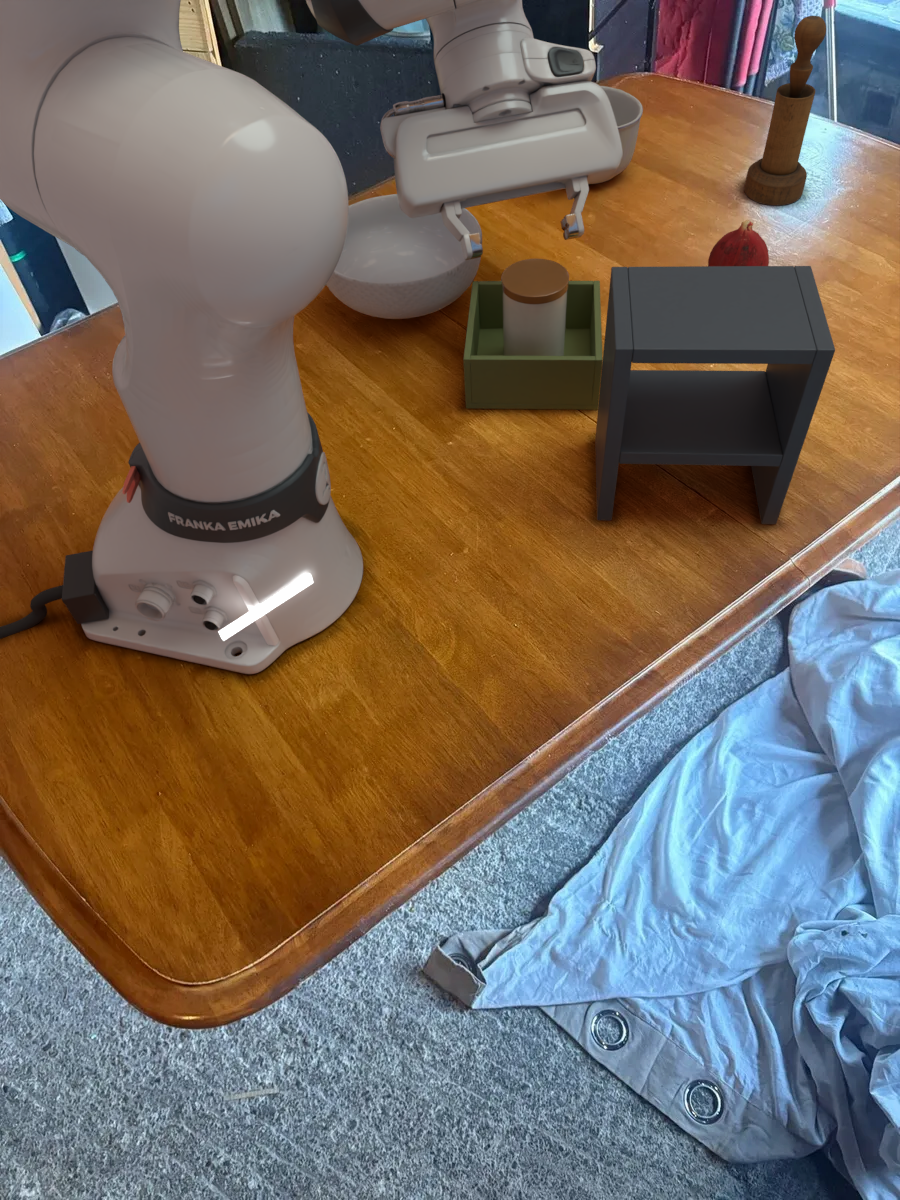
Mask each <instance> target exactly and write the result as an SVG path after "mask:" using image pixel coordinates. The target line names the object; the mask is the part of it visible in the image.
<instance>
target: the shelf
mask: <svg viewBox="0 0 900 1200" xmlns="http://www.w3.org/2000/svg"><path fill="white" fill-rule="evenodd" d="M827 320H828V319H827V316H826V314H825V310H824V307H823V303H822V299H821V295H820V292H819V290H818V286H817V283H816V279H815V275H814V272H813V269H812V266H811V265H768V266H708V265H705V266H703V265H701V266H699V265H697V266H695V265H694V266H692V265H691V266H611V269H610V278H609V288H608V299H607V311H606V321H605V333H604V342H603V351H602V370H601V381H600V391H599V402H598V410H597V414H596V415H597V416H596V426H595V438H594V441H595V442H594V445H595V449H594V450H595V479H596V480H595V486H596V487H595V489H596V492H595V493H596V520H597V521H606V522H607V521H612V519H613V513H614V505H615V497H616V489H617V481H618V474H619V473H618V472H619V467H620V465H673V466H679V465H680V466H683V465H684V466H729V467H730V466H735V467H737V466H739V467H751V474H752V479H753V484H754V490H755V496H756V502H757V507H758V513H759V518H760V524H762V525H777V522H778V519H779V517H780V513H781V511H782V508H783V505H784V502H785V499H786V496H787V495H788V494H787V493H788V491H789V487H790V485H791V482H792V479H793V476H794V473H795V469H796V468H797V464H798V461H799V459H800V455H801V452H802V449H803V446H804V444H805V440H806V437H807V435H808V431H809V428H810V425H811V423H812V420H813V417H814V414H815V411H816V408H817V405H818V402H819V399H820V397H821V395H822V394H821V393H822V391H823V388H824V384H825V382H826V379H827V377H828V376H827V375H828V372H829V370H830V367H831V364H832V361H833V357H834V356H835V353H836V348H835V344H834V340H833V337H832V334H831V331H830V326H829V323H828V321H827ZM632 364H701V365H702V364H712V365H713V364H714V365H715V364H721V365H723V364H724V365H725V364H727V365H729V364H730V365H731V364H732V365H756V364H757V365H766V369H765V370H687V369H686V370H685V369H684V370H682V369H681V370H679V369H678V370H677V369H676V370H673V369H671V370H669V369H668V370H667V369H666V370H665V369H632Z"/></svg>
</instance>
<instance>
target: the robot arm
mask: <svg viewBox="0 0 900 1200" xmlns="http://www.w3.org/2000/svg"><path fill="white" fill-rule="evenodd" d="M181 1H182V0H0V201H1V202H2V203H3V204H4V205H5V206H6V207H8V208H9V209H10V210H11V211H12V212H14V213H15V214H17V215H18V216H19V217H21V218H22V219H25V220H26V221H28V222H30V223H31V224H33V225H35V226H36V227H38V228H40V229H41V230H43V231H44V232H46V233H48V234H50V235H51V236H53V237H55V238H56V239H58V240H60V241H62V242H63V243H65V244H67V245H69V246H70V247H72V248H73V249H75V251H77V252H78V253H79V254H81V255H82V256H83V257H85V258H86V259H87V260H88V262H89V263H90V264H91V265H92V266H93V267H94V268H95V270H96V271H97V272H98V274H100V275H101V277H102V279H103V280H104V281H105V282H106V284H107V285H108V286H109V288H110V290H111V291H112V293H113V295H114V297H115V299H116V300H117V304H118V306H119V309H120V313H121V318H122V322H123V329H124V336H123V337H122V338H121V340H120V341H119V343H118V345H117V347H116V349H115V352H114V355H113V359H112V365H111V366H112V367H111V368H112V371H111V373H112V381H113V385H114V387H115V390H116V391H117V394H118V396H119V398H120V401H121V403H122V405H123V407H124V410H125V412H126V414H127V417H128V419H129V421H130V424H131V426H132V428H133V430H134V432H135V434H136V437H137V440H138V443H137V444H136V445H135V446H134V448H133V450H132V452H131V454H130V457H129V459H128V465H129V470H128V473H127V475H126V477H125V480H124V482H123V486H122V487H121V488H120V489H119V491H118V492H117V493H116V494H115V496H114V497H113V498H112V500H111V501H110V504H109V505H108V507H107V509H106V511H105V513H104V514H103V516H102V519H101V521H100V524H99V526H98V529H97V532H96V535H95V538H94V543H93V547H92V550H88V551H82V552H76V553H72V554H66V555H65V558H64V570H63V581H62V584H61V585H58V586H54V587H51V588H47V589H45V590H43V591H40V592H39V593H38V594H36V595H35V596H33V597H32V599H31V600H30V605H29V607H30V609H31V612H30V613H28V614H27V615H25V616H24V617H22V618H20V619H18V620H15V621H14V622H11V623H8V624H5V625H1V626H0V640H2V639H3V638H6V637H9V636H12V635H15V634H18V633H20V632H23V631H27V630H29V629H31V628H33V627H35V626H37V625H38V624H39V623H41V622H42V621H43V620H44V619H45V618H46V617H47V616H48V615H47V614H48V607H47V606H46V605H48V604H49V603H52V602H54V601H55V602H56V601H59V600H61V601H62V602H63V604H64V605H65V608H67V610H68V612H69V614H70V615H71V617H72V618H73V620H74V621H75V623H76V624H77V625H81V628H82V630H83V632H84V634H85V637H86V638H87V639H89V640H92V641H95V642H99V643H103V644H107V645H112V646H117V647H121V648H125V649H129V650H136V651H140V652H143V653H148V654H153V655H157V656H162V657H166V658H167V657H168V658H171V659H176V660H181V661H185V662H189V663H195V664H198V665H203V666H209V667H212V668H217V669H221V670H225V671H230V672H235V673H239V674H245V675H254V674H258V673H261V672H262V671H264V670H265V669H266V668H268V667H269V666H271V664H272V663H274V662H275V661H277V659H278V658H279V657H280V656H281V655H282V654H283V653H284V652H285V651H287V650H288V649H289V648H291V647H293V646H294V645H296V644H299V643H301V642H303V641H305V640H307V639H310V638H311V637H314V636H315V635H317V634H319V633H321V632H323V631H324V630H325V629H327V628H328V627H329V626H331V625H332V624H333V623H335V622H336V621H337V620H338V619H339V618H340V617H342V615H343V614H344V613H345V612H346V611H347V609H348V608H349V607H350V606H351V604H352V603H353V602H354V600H355V598H356V596H357V594H358V592H359V589H360V587H361V583H362V580H363V576H364V560H363V555H362V551H361V548H360V546H359V545H358V542H357V541H356V539H355V537H354V536H353V535H352V533H351V532H350V531H349V529H348V528H347V526H346V525H345V523H344V522H343V521H344V520H342V518H341V516H340V514H339V512H338V509H337V507H336V505H335V502H334V500H333V497H332V495H331V493H332V485H331V474H330V469H329V464H328V460H327V454H326V452H325V451H324V449H323V445H322V442H321V438H320V435H319V431H318V428H317V425H316V422H315V421H314V418H313V417H312V416H311V414H310V413H309V411H308V408H307V405H306V400H305V396H304V390H303V387H302V382H301V381H302V380H301V376H300V372H299V367H298V362H297V358H296V352H295V343H294V323H295V316H296V315H297V314H299V313H300V312H302V311H303V310H304V309H305V308H307V306H309V305H310V304H311V303H312V302H313V301H314V300H315V299H316V298H317V297H318V295H319V294H321V292H322V291H323V290H324V289H325V286H326V284H327V282H328V281H329V279H330V277H331V276H332V274H333V272H334V270H335V268H336V266H337V264H338V261H339V259H340V256H341V253H342V250H343V247H344V243H345V239H346V233H347V227H348V215H349V206H350V205H349V192H348V185H347V180H346V175H345V172H344V169H343V166H342V163H341V160H340V158H339V156H338V154H337V152H336V151H335V149H334V147H333V146H332V144H331V143H330V141H329V140H328V138H327V137H326V136H325V135H324V134H323V133H322V132H321V131H320V130H319V129H317V127H316V126H314V125H313V124H312V123H310V121H308V120H307V119H305V118H304V117H303V116H302V115H301V114H299V113H298V112H297V111H296V110H294V108H292V107H291V106H289V105H288V104H287V103H286V102H284V101H283V100H282V99H281V98H280V97H278V96H277V95H275V94H273V93H272V92H271V91H270V90H269V89H267V88H265V87H264V86H262V85H261V84H260V83H259V82H257V81H256V80H255V79H253V78H251V77H249V76H247V75H245V74H243V73H241V72H238V71H235V70H234V69H230V68H227V67H224V66H222V65H219V64H218V63H217V64H216V63H214V62H211V61H209V60H206V59H205V58H201V57H199V56H196V55H193V54H191V53H188V52H185V51H184V49H183V46H182V42H181V34H180V10H181ZM305 3H306V4H307V7H308V9H309V11H310V13H311V14H312V16H313V17H314V19H315V21H316V23H317V25H318V27H320V28H322V29H323V30H325V31H326V32H328V33H329V34H331V35H333V36H334V37H336V38H338V39H341V40H342V41H344V42H347V43H348V44H351V45H354V46H356V47H358V46H360V45H363V44H366V43H367V42H370V41H372V40H374V39H377V38H379V37H381V36H384V35H386V34H389V33H391V32H393V31H394V29H397V28H400V27H403V26H406V25H409V24H412V23H413V24H414V23H416V22H419V21H422V20H426V22H427V24H428V26H429V28H430V31H431V33H432V38H433V64H434V68H435V72H436V77H437V82H438V86H439V91H440V94H437V95H431V96H426V97H422V98H419V99H416V100H411V101H408V100H404V101H399V102H396V103H394V104H392V108H391V109H389V110H388V111H387V112H385V113H384V114H383V116H382V118H381V121H380V124H379V125H380V127H379V128H380V129H379V130H380V134H381V138H382V143H383V148H384V149H385V151H386V153H387V154H388V155H389V156H391V158H393V169H394V170H393V171H394V181H395V189H396V194H397V196H398V202H399V207H400V209H401V210H402V211H403V212H404V213H405V214H406V215H407V216H409V217H410V218H416V217H421V216H427V215H432V214H437V213H441V214H442V218H443V223H444V225H445V227H446V228H447V229H448V230H449V231H450V232H451V233H452V234H453V236H454V237H455V238H456V239H457V240H458V241H460V243H461V247H462V252H463V256H464V259H465V260H469V259H474V258H479V257H481V258H482V256H483V254H484V249H483V244H482V245H481V244H480V241H481V239H480V234H479V233H473V234H470V232H469V231H468V230H467V229H466V227H465V226H464V225H463V224H462V223H461V221H460V220H459V218H460V216H461V214H462V210H461V209H463V208H465V209H469V208H473V207H478V206H482V205H488V204H493V203H498V202H503V201H508V200H513V199H520V198H524V197H530V196H535V195H539V194H544V193H549V192H554V191H560V190H565V192H566V197H567V200H568V201H571V200H573V202H572V205H571V209H570V212H569V214H566V215H565V216H563V218H562V219H561V221H560V226H561V230H562V231H563V232H562V236H563V239H564V241H567V240H574V239H579V238H582V236H583V235H584V234H585V226H584V220H583V216H582V213H583V211H584V208H585V204H586V201H587V198H588V195H589V191H590V186H589V185H592V184H591V183H596V182H602V181H606V180H607V179H609V178H610V177H611V176H612V175H613V173H614V172H615V171H616V170H617V168H618V166H619V165H620V162H621V160H622V156H623V151H622V144H621V139H620V135H619V131H618V127H617V123H616V120H615V116H614V113H613V110H612V107H611V104H610V101H609V99H608V97H607V95H606V93H605V91H604V90H603V89H602V88H601V87H600V86H601V85H599V84H598V83H596V82H594V81H592V80H593V78H594V75H595V74H596V69H597V65H596V59H595V56H594V53H593V52H592V51H590V50H589V49H586V48H581V47H575V46H569V45H562V44H558V43H553V42H547V41H544V40H540V39H537V38H535V37H534V33H533V29H532V26H531V25H530V22H529V20H528V18H527V17H526V13H525V12H524V8H523V7H524V6H523V0H305ZM392 115H393V116H392ZM606 182H607V181H606ZM602 183H603V182H602ZM239 653H241V654H239ZM237 654H239V655H237ZM236 655H237V656H236Z"/></svg>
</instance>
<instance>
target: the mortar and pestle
mask: <svg viewBox="0 0 900 1200" xmlns="http://www.w3.org/2000/svg"><path fill="white" fill-rule="evenodd" d="M826 34H827V25H826V22H825V20H824V18H823V17H821V16H819V15H808V16H805V17H804V18H801V20H800V21H799V22H798V23H797V26H796V27H795V30H794V35H793V38H794V43H795V47H796V51H797V55H796V59H795V61H794V62H792V63H791V64H790V67H789V82H788V83H784V84H782V85H780V86H779V87H778V88H777V89H776V93H775V97H774V102H773V107H772V113H771V118H770V122H769V127H768V132H767V136H766V137H767V138H766V142H765V144H764V145H765V146H764V150H763V154H762V157H761V158H760V159H757V160H756V161H755V162H753V163H752V164H751V165H750V166H749V167H748V169H747V173H746V176H745V181H744V186H743V192H744V194H745V195H746V196H747V197H748V198H749V199H750V200H752V201H754V202H756V203H758V204H761V205H767V206H786V205H789V204H793V203H795V202H797V201H798V200H800V199H801V198H802V196H803V194H804V190H805V185H806V181H807V177H808V173H807V170H806V169H805V168H804V167H803V166H802V164H801V163H800V162H799V160H800V156H801V151H802V148H803V142H804V138H805V135H806V130H807V126H808V123H809V119H810V114H811V110H812V107H813V103H814V99H815V95H816V89H815V88H814V86H813V85H811V84H808V80H809V79H810V76H811V74H812V72H813V70H814V65H813V64H812V58H813V54H814V53H815V52H816V50H817V49H818V48H819V47H820V45H821V44H822V43H823V41H824V39H825V37H826Z"/></svg>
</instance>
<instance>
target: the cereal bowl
mask: <svg viewBox="0 0 900 1200" xmlns="http://www.w3.org/2000/svg"><path fill="white" fill-rule="evenodd" d="M348 206H349V215H348V227H347V233H346V239H345V243H344V247H343V250H342V253H341V256H340V259H339V261H338V264H337V266H336V268H335V270H334V272H333V274H332V276H331V277H330V279H329V281H328V282H327V284H326V285H325V286H326V287H327V288H328V290H329V291H330V292H331V293H332V294H333V296H334V297H336V298H337V300H338V301H340V302H341V303H342V304H343V305H346V306H347V307H348V308H350V309H352V310H353V311H355V312H358V313H360V314H364V315H366V316H371V317H372V318H379V319H387V320H390V319H391V320H402V319H413V318H418V317H423V316H427V315H429V314H433V313H435V312H438V311H440V310H442V309H444V308H446V307H448V306H449V305H451V304H452V303H454V302H455V301H456V300H457V299H459V298H461V296H462V295H463V294H464V293H465V292H466V291H467V290H468V289H469V288H470V286H472V283H473V281H475V277H476V276H477V273H478V271H479V268H480V265H481V259H482V256H481V257H479V258H474V259H469V260H465V259H464V256H463V252H462V247H461V243H460V241H458V240H457V239H456V238H455V237H454V236H453V234H452V233H451V232H450V231H449V230H448V229H447V228H446V227H445V225H444V223H443V218H442V214H441V213H437V214H432V215H427V216H421V217H416V218H410V217H409V216H407V215H406V214H405V213H404V212H403V211H402V210H401V209H400V207H399V202H398V196H397V193H394V194H392V193H391V194H386V195H379V196H374V197H369V198H366V199H363V200H360V201H357V202H354V203H352V204H350V205H348ZM461 210H462V214H461V216H460V218H459V220H460V221H461V223H462V224H463V225H464V226H465V227H466V229H467V230H468V231H469V232H470V234H473V233H479V234H480V239H481V241H480V244H481V245H482V246H483V232H482V228H481V225H480V223H479V221H478V219H477V218H476V217H475V216H474V215H473V213H472V212H470V210H468V208H463V209H461Z"/></svg>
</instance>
